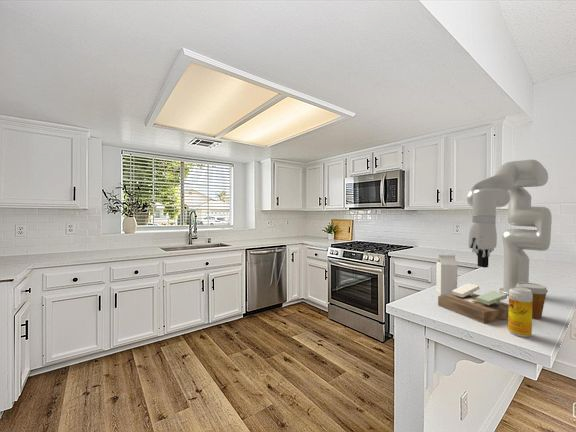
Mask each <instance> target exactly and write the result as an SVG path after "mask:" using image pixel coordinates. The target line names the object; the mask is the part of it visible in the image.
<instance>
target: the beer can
mask: <svg viewBox="0 0 576 432" xmlns="http://www.w3.org/2000/svg"><path fill="white" fill-rule="evenodd" d="M532 303H533V294H532V292H531V290H529V289H526V288H520V287H511V289H510V290H509V295H508V304H509V313H508V319H507V321H508V322H507V324H508V325H507V330H508V331H509V333H510V334H512V335H514V336H517V337H520V338H529V337H530V336H531V335H532V333H533V332H532V331H533V326H532V325H533V318H532Z"/></svg>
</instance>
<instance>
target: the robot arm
mask: <svg viewBox="0 0 576 432" xmlns="http://www.w3.org/2000/svg"><path fill="white" fill-rule="evenodd" d="M548 181H549V173H548V170H547V169H546V167H544V165H543V164H542V163H541V162H540V161H538V160H536V159H524V160H523V159H522V160H514V161H507V162H505V163H503V164H502V165H501V166H500V167H499V168H498V170H497V171H496V172H495V174H494V175H492V176H489V177H487V178H485V179H482V180H480V181H478V182H476V183H475V184H473V186H472V187H471V188H470V190H469V191H468V192H467V193H468V194H467V197H466V202H467V204H468V205H469V206H470V207H472V217H471V218H472V221H471V225H470V227H469V228H470V229H469V235H468V248H469V249H471V252H472V253H475V254H476V257H477V267H480V268H484V269H485V268H489V258H490V257H491V252H494V250H495V249H496V248H497V243H498V241H497V239H498V237H497V236H498V235H497V234H498V233H497V227H496V222H497V221H496V219H497V217H496V216H497V215H496V214H497V210H496V209H497V208H503V207H506V206H507V205H508V207H507V209H508V210H507V222H508V224H510V225H511V226H514V227H531V228H533V227H534V228H537V229H526V228H525V229H524V228H509V229H506V230H504V231H503V233H502V236H501V239H502V243H503V257H504V258H503V285H502V287H500V288H499V291H498V292H500V293H503V294H507V296H509V290H510V289H511V287H516V286H517V283H520V282H526V283H530V282H529V281H530V280H529V279H530V257H529V255H528V254H527V253H526V252H525V250H529V251H540V252H544V251H547V250H549V249H550V245H551V238H552V237H551V236H552V235H551V234H552V220H553V219H552V212H551V210H550V209H549V208H548V207H546V206H532V195H531V194H530V192H529V191H528V190H527V189H525V188H535V187H536V188H537V187H543V186H545V185H546V184H547V183H548Z"/></svg>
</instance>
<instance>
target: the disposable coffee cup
mask: <svg viewBox="0 0 576 432" xmlns="http://www.w3.org/2000/svg"><path fill="white" fill-rule="evenodd" d="M516 287H520V288H526V289H529V290H531V292H532V294H533V303H532V320H533V319H535V320H539V319H542V317H543V316H542V315H543V310H544V306H545V302H546V301H545V300H546V296H547V294H548V291H549V290H548V289H547V287H546V286H545V285H542V284H539V283H535V282H534V283H532V282H529V283H526V282H520V283H517V286H516Z"/></svg>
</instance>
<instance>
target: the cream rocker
mask: <svg viewBox="0 0 576 432" xmlns="http://www.w3.org/2000/svg"><path fill="white" fill-rule="evenodd" d="M479 290H480V285H477V284H474V283H470V282H467V283H465V284H463V285H461V286H459V287H458V286H457V288H456V289H454V290H452V294H454V295H457V296H460V297H465V296H467V295H470V296H472V295H473V293H475V292H477V291H479Z"/></svg>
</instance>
